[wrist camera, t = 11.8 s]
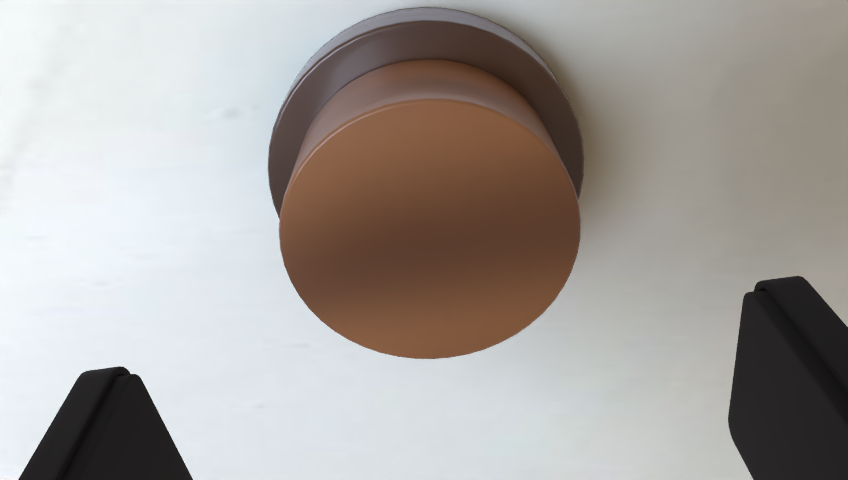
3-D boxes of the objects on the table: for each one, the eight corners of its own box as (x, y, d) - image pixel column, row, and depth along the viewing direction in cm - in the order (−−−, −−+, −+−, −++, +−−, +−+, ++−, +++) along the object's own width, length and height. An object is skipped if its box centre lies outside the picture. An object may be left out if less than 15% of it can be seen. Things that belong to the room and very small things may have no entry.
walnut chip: (239, 35, 17) (226, 50, 16) (566, -19, 17) (579, -7, 16) (315, 297, 22) (309, 326, 20) (577, 261, 21) (589, 288, 20)
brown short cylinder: (265, 82, 17) (240, 127, 14) (549, 37, 16) (576, 74, 14) (328, 307, 20) (318, 376, 18) (562, 275, 20) (585, 340, 17)
